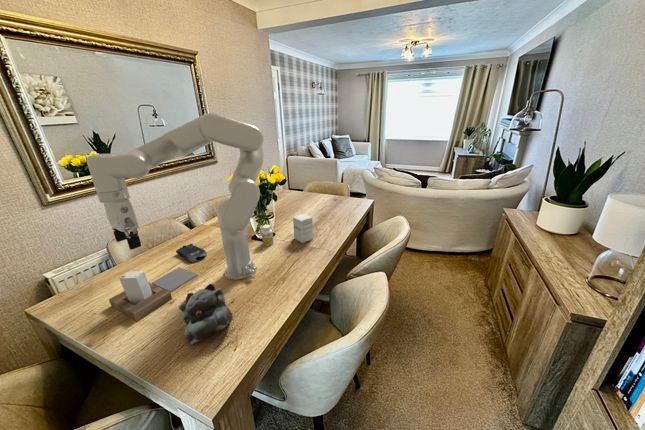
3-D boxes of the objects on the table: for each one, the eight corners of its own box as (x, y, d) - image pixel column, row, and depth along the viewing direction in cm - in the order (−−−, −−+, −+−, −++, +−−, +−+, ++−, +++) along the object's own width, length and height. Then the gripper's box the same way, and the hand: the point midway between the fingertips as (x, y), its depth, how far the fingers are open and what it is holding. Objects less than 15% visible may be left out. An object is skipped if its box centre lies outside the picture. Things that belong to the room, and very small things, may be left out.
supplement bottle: (263, 241, 133) (261, 224, 129) (274, 240, 133) (272, 223, 129) (262, 246, 128) (260, 228, 124) (273, 245, 128) (271, 228, 124)
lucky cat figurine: (178, 350, 72) (161, 304, 72) (198, 331, 84) (184, 292, 84) (228, 332, 72) (211, 286, 72) (241, 316, 84) (227, 276, 84)
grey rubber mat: (197, 275, 105) (197, 274, 105) (170, 292, 96) (170, 291, 95) (179, 268, 111) (179, 267, 110) (151, 283, 101) (151, 282, 101)
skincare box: (154, 298, 93) (145, 270, 88) (146, 306, 89) (136, 278, 84) (138, 298, 93) (128, 270, 88) (129, 306, 89) (118, 278, 84)
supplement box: (293, 238, 134) (292, 216, 130) (305, 234, 139) (303, 213, 134) (302, 243, 129) (300, 220, 124) (313, 239, 134) (312, 216, 129)
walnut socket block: (172, 298, 92) (170, 292, 91) (137, 321, 82) (134, 314, 81) (146, 286, 99) (144, 280, 98) (111, 306, 89) (108, 299, 88)
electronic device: (175, 259, 121) (192, 264, 113) (173, 248, 120) (190, 252, 111) (194, 253, 129) (211, 257, 120) (192, 242, 127) (209, 246, 119)
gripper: (140, 196, 77) (153, 246, 83) (116, 188, 86) (129, 233, 92) (111, 203, 71) (127, 256, 77) (88, 193, 80) (104, 241, 86)
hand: (128, 243), depth 85 cm, fingers open, 9 cm apart
